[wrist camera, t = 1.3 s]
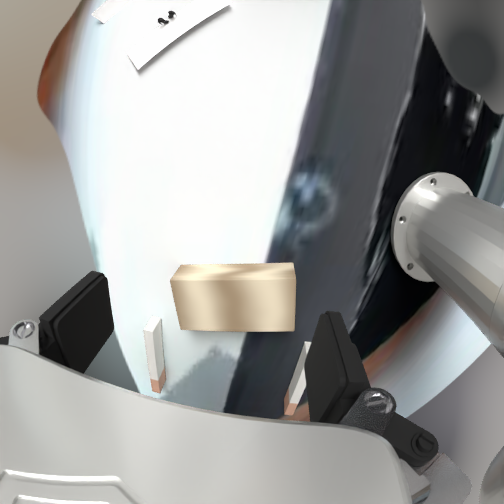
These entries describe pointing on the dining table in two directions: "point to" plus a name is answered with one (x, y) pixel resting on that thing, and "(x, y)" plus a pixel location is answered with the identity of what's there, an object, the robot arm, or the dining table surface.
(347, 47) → the dining table surface
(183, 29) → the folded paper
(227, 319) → the birch block
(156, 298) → the dining table surface
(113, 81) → the dining table surface
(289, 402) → the walled lane
